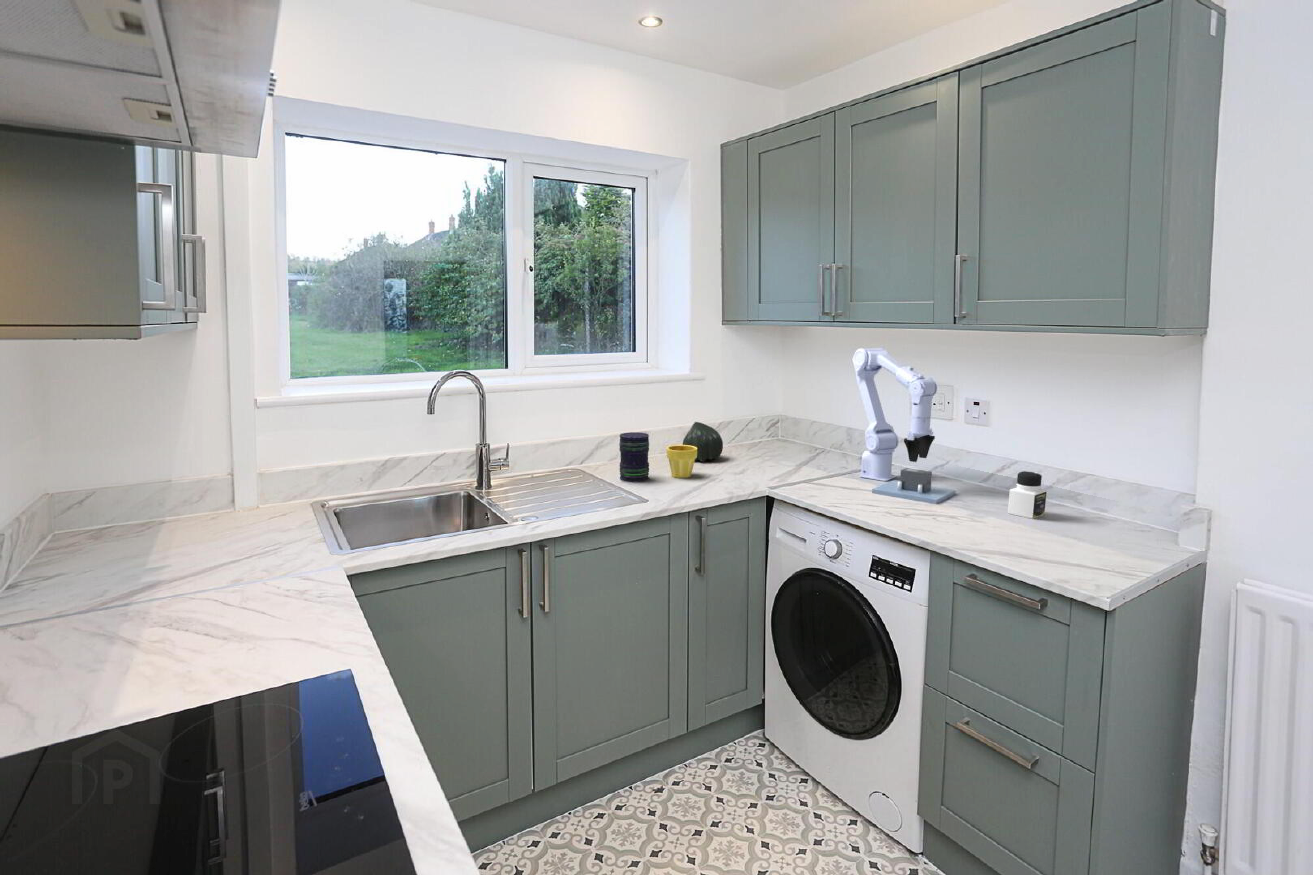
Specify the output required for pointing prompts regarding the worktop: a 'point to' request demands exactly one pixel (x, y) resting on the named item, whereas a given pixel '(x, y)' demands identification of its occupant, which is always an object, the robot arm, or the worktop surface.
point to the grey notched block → (916, 479)
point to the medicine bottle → (1027, 496)
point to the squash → (704, 441)
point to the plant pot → (681, 460)
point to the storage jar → (634, 457)
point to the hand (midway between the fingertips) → (917, 459)
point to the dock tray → (931, 497)
